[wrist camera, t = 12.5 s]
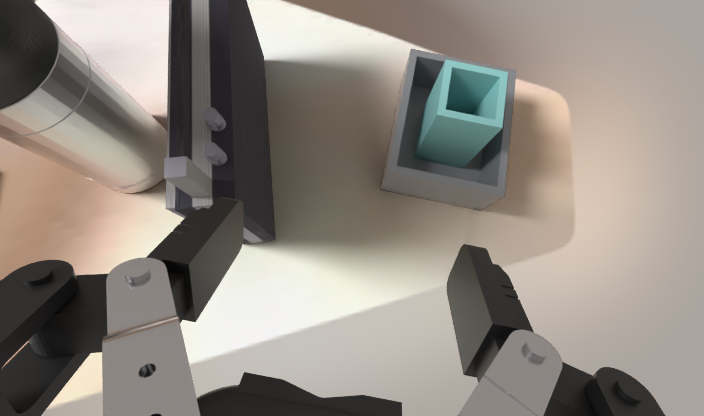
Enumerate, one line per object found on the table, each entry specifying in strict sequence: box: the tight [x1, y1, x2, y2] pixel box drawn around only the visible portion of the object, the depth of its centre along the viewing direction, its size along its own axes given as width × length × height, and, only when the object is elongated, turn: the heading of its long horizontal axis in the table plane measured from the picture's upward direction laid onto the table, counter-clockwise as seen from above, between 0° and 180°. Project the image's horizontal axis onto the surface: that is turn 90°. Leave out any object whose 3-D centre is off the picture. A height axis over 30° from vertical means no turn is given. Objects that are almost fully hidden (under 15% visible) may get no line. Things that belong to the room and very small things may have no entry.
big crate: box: [380, 49, 516, 210], centre depth 39 cm, size 15×12×6 cm
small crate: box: [413, 59, 508, 169], centre depth 36 cm, size 6×6×10 cm
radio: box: [164, 0, 275, 244], centre depth 31 cm, size 24×5×20 cm, turn 7°
